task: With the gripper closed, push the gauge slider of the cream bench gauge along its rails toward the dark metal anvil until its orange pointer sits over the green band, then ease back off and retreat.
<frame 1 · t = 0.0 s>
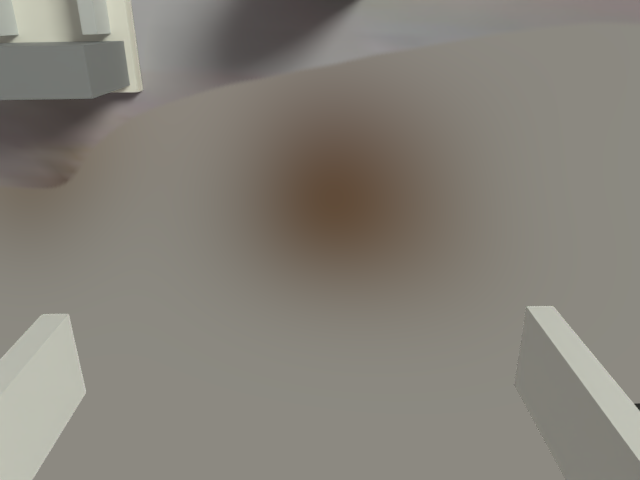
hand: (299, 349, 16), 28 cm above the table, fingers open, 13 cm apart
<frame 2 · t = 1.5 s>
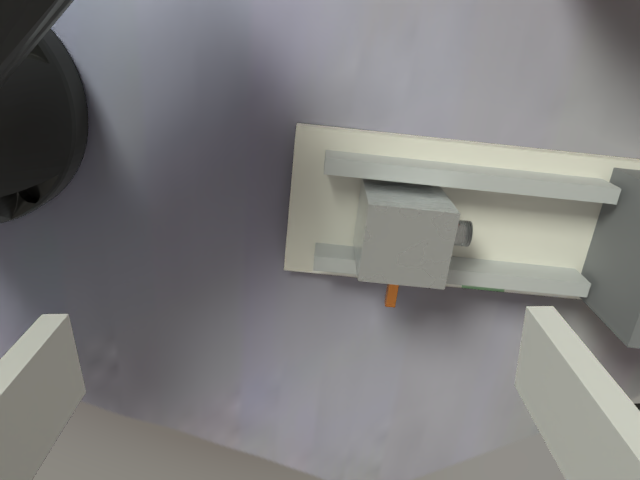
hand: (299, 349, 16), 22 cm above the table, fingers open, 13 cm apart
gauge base: (464, 214, 37), on the table
gauge slider: (411, 250, 33), point 4 cm above the table, slide at 0.0 cm
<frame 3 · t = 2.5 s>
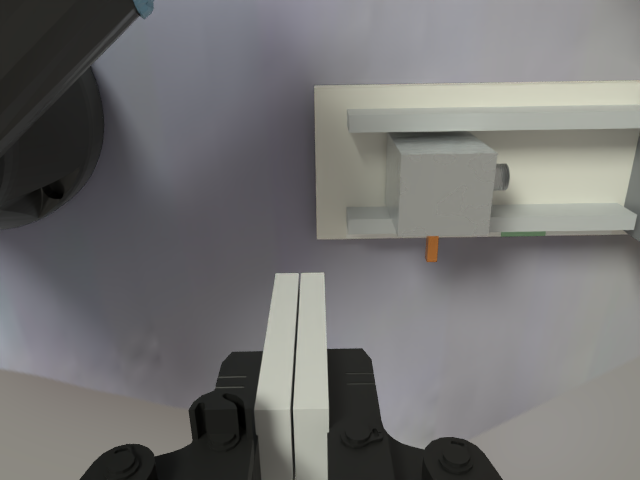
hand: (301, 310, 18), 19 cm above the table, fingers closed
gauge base: (495, 160, 36), on the table
gauge slider: (448, 201, 32), point 5 cm above the table, slide at 0.0 cm
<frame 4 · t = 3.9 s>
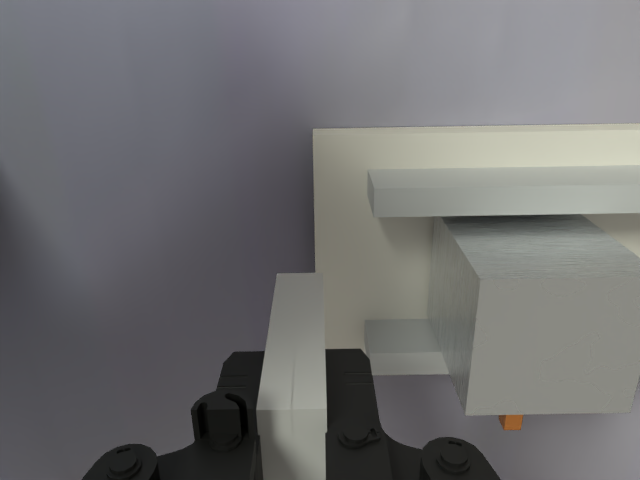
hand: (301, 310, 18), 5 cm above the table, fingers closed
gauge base: (603, 244, 22), on the table
gauge slider: (543, 331, 19), point 4 cm above the table, slide at 0.0 cm
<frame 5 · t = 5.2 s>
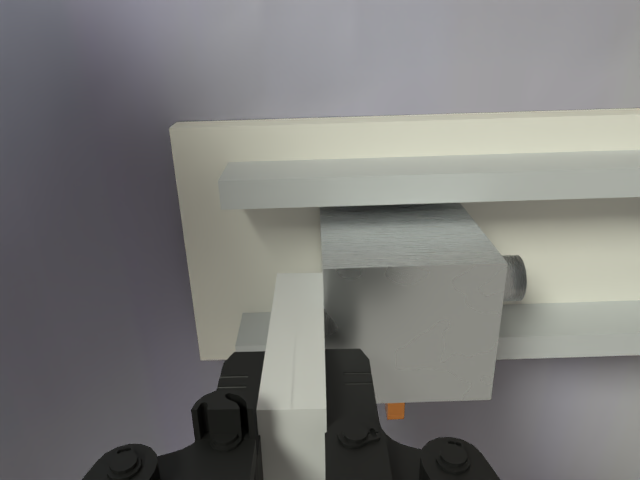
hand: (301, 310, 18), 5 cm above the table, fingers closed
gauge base: (480, 234, 22), on the table
gauge slider: (421, 320, 19), point 4 cm above the table, slide at 0.8 cm, touching gripper
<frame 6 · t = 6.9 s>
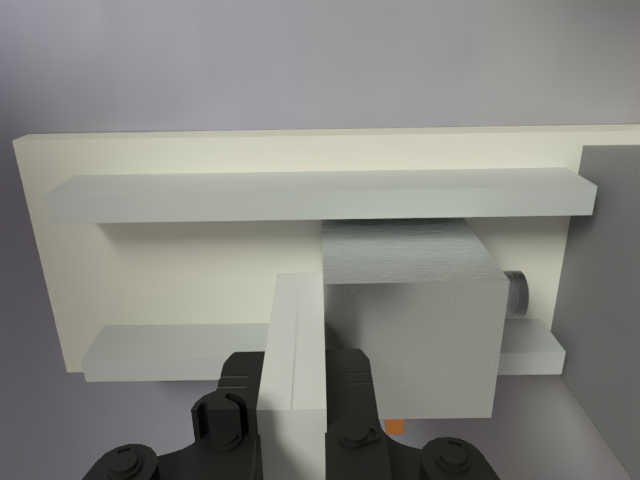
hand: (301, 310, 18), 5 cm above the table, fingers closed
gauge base: (345, 250, 22), on the table
gauge slider: (421, 335, 18), point 5 cm above the table, slide at 6.5 cm, touching gripper
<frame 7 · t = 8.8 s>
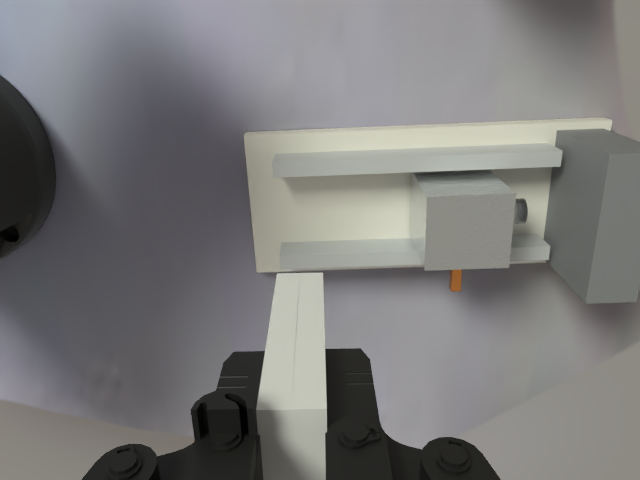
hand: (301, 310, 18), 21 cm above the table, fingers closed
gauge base: (421, 195, 38), on the table
gauge slider: (470, 234, 34), point 5 cm above the table, slide at 6.5 cm
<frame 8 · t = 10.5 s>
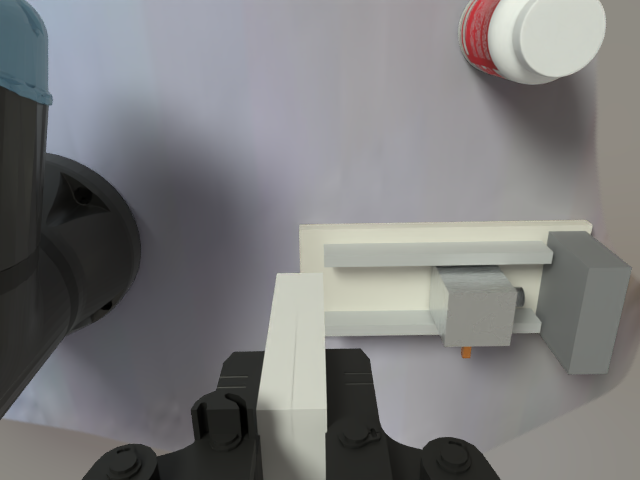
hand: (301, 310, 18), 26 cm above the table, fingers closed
pill bottle: (497, 29, 39), on the table
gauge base: (438, 275, 47), on the table
gauge slider: (479, 314, 43), point 5 cm above the table, slide at 6.5 cm
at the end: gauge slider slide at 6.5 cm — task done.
